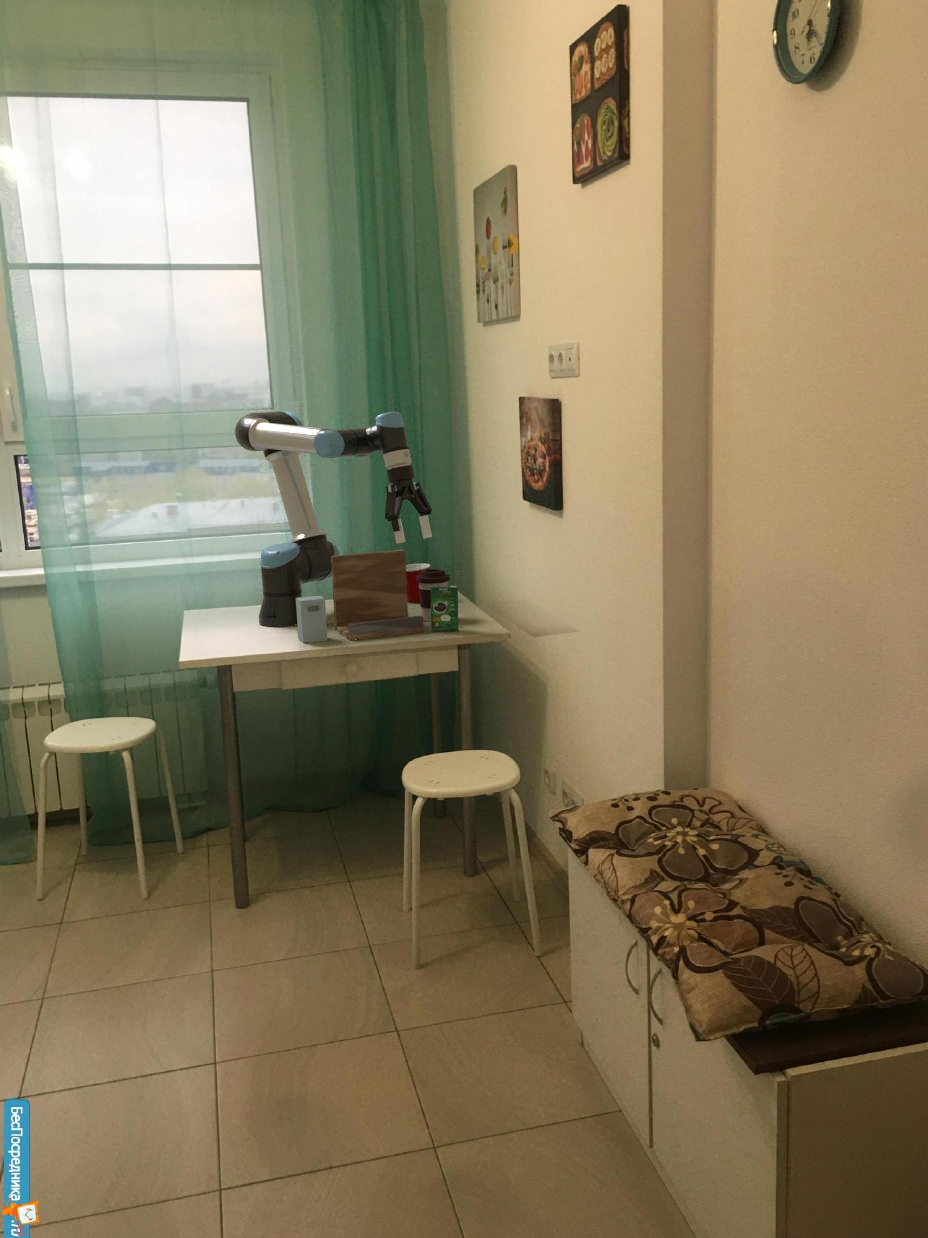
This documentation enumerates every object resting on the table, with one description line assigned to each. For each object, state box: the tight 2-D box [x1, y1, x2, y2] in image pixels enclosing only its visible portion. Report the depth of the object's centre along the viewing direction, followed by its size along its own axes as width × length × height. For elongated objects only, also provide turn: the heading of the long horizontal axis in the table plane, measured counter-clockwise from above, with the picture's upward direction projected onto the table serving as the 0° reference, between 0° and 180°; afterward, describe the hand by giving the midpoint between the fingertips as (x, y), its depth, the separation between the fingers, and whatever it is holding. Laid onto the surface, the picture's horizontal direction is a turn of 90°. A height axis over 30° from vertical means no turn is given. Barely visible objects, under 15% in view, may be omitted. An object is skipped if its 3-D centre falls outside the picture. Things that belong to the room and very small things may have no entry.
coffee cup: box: [417, 568, 451, 623], centre depth 328 cm, size 10×10×15 cm
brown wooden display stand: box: [331, 549, 425, 641], centre depth 313 cm, size 15×22×22 cm
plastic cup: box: [406, 563, 431, 604], centre depth 357 cm, size 11×11×12 cm
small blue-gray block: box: [296, 595, 328, 644], centre depth 306 cm, size 6×7×12 cm
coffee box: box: [430, 585, 459, 632], centre depth 313 cm, size 8×3×13 cm, turn 88°
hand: (414, 540), depth 312 cm, fingers open, 13 cm apart
